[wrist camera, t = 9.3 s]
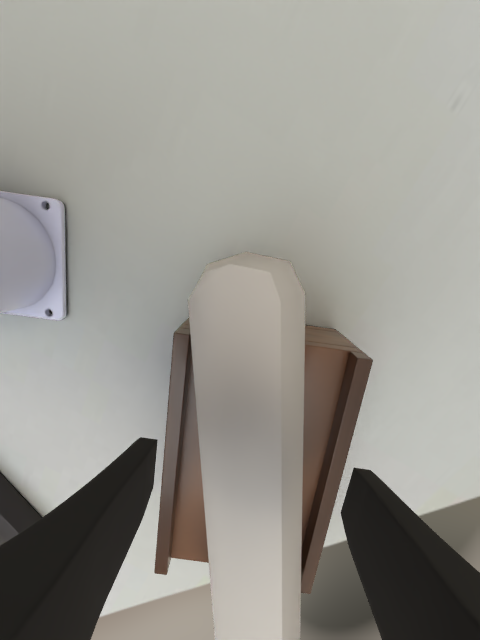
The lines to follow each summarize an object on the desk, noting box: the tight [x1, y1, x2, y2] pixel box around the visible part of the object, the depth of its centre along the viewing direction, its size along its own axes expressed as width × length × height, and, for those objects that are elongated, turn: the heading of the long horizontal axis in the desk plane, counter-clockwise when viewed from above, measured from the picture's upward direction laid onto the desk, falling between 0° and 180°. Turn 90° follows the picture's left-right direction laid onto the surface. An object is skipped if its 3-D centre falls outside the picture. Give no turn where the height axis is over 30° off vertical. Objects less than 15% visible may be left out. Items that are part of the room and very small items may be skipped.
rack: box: [155, 318, 373, 594], centre depth 18 cm, size 10×16×6 cm, turn 172°
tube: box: [188, 252, 306, 640], centre depth 14 cm, size 5×5×25 cm
